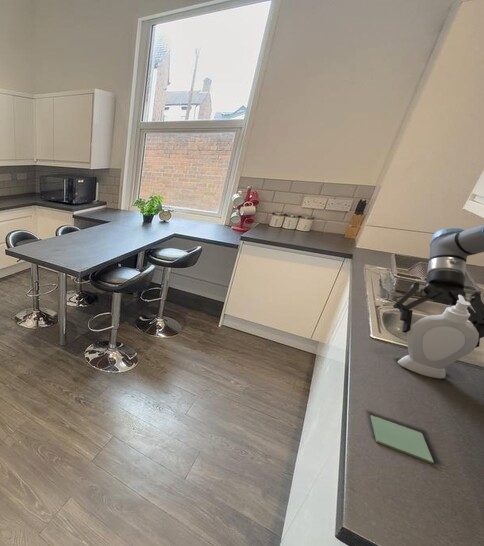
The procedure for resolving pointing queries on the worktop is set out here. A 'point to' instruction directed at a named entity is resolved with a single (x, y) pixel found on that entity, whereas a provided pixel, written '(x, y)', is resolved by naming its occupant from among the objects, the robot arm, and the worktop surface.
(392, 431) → the mat
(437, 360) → the soap bottle
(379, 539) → the worktop surface
